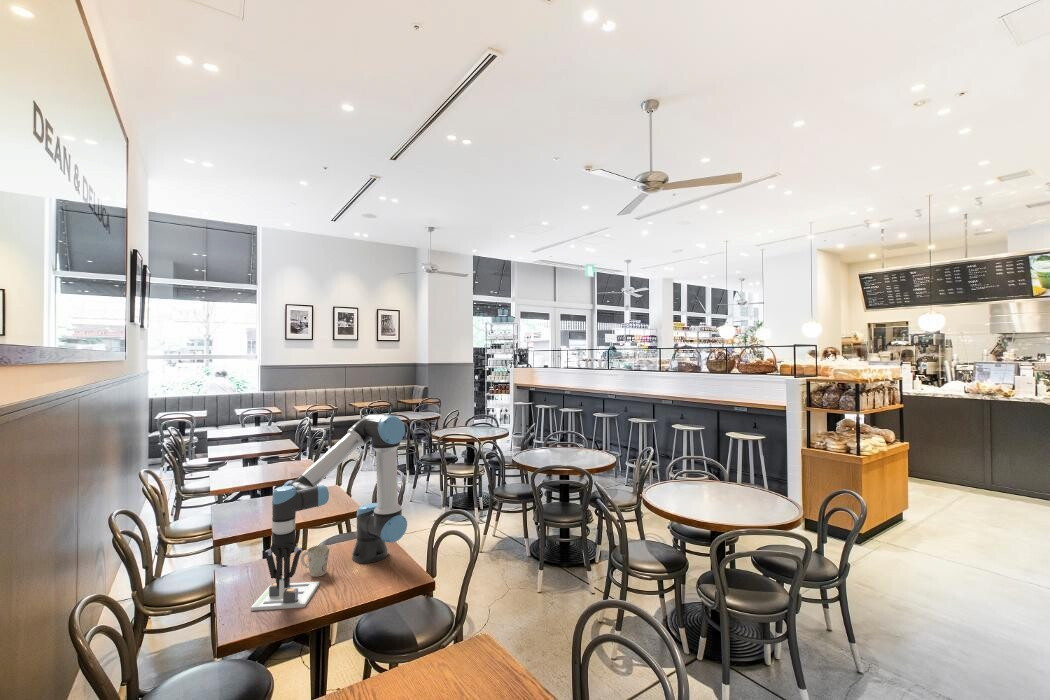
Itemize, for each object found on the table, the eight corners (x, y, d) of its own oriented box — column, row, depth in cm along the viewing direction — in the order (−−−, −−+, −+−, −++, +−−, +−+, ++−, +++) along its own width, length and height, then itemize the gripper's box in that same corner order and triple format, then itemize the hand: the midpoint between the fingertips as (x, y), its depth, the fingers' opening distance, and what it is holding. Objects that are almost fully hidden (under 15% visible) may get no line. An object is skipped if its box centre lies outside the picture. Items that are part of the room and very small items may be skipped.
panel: (319, 584, 182) (319, 572, 183) (304, 607, 166) (304, 593, 166) (270, 587, 180) (270, 574, 180) (250, 610, 163) (251, 596, 163)
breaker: (297, 597, 169) (298, 587, 169) (295, 602, 166) (295, 591, 166) (286, 598, 169) (286, 588, 169) (283, 602, 166) (283, 592, 166)
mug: (320, 578, 187) (321, 553, 188) (293, 576, 190) (293, 551, 190) (333, 569, 195) (333, 545, 196) (306, 567, 198) (307, 543, 198)
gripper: (306, 526, 172) (305, 590, 172) (268, 527, 171) (267, 592, 170) (299, 533, 165) (298, 600, 164) (260, 535, 163) (258, 603, 163)
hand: (282, 596), depth 167 cm, fingers closed
